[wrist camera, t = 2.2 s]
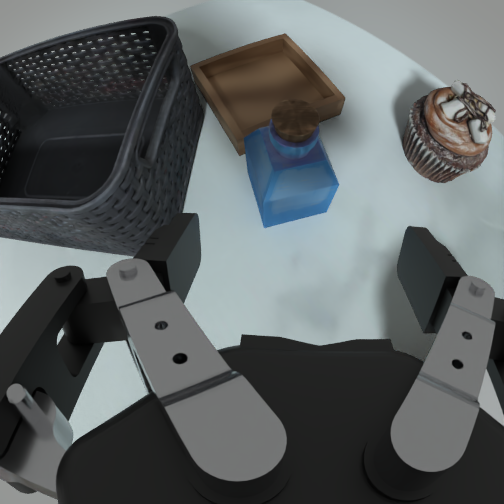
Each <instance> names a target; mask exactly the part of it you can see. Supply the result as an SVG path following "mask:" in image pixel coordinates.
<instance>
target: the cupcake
mask: <svg viewBox="0 0 504 504" xmlns="http://www.w3.org/2000/svg"><path fill="white" fill-rule="evenodd" d="M495 111H496V110H495V109H494V108H493V107H492V105H491V104H490V103H488V102H487V101H486V100H485V99H483V98H482V97H481V96H479V95H477V94H475V93H474V92H472V90H471V89H470V87H469V86H468V85H467V84H466V83H462V82H460V81H459V80H457V81H455V82H454V83H453V84H452V86H451V87H444V88H439V89H436V90H433V91H431V92H430V93H429V95H426V96H423V97H422V98H421V99H419V100H417V102H415V103H414V105H412V107H411V109H410V114H409V118H408V123H407V126H406V130H405V133H404V137H403V149H404V153H405V156H406V158H407V160H408V162H409V163H410V164H411V165H412V166H413V168H414V169H415V170H416V171H417V172H418V173H419V174H420V175H421V176H423V177H425V178H428V179H429V180H431V181H434V182H437V183H439V182H441V183H446V182H448V181H452V180H453V179H455V178H456V177H458V176H460V175H462V174H464V173H467V172H471V171H473V170H474V169H477V168H478V167H480V166H481V165H480V164H481V163H482V162H483V161H484V159H485V158H486V156H487V154H488V145H489V143H490V141H491V137H492V126H491V123H492V122H493V121H495V118H496V116H495V114H494V113H495Z"/></svg>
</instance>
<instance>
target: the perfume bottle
mask: <svg viewBox="0 0 504 504" xmlns="http://www.w3.org/2000/svg"><path fill="white" fill-rule="evenodd" d="M271 117H272V119H271V120H270V124H269V126H266V127H262V128H259V129H257V130H255V131H254V132H252V133H250V134H249V135H247V136H246V137H244V145H245V153H246V161H247V170H248V174H249V178H250V181H251V184H252V188H253V191H254V195H255V198H256V201H257V205H258V208H259V212H260V215H261V219H262V222H263V226H264V228H266V227H270V226H274V225H278V224H282V223H285V222H289V221H293V220H297V219H301V218H305V217H309V216H313V215H317V214H321V213H325V212H327V210H328V207H329V205H330V203H331V201H332V199H333V197H334V195H335V193H336V190H337V188H338V186H339V183H338V180H337V178H336V175H335V173H334V170H333V168H332V165H331V163H330V160H329V158H328V156H327V153H326V151H325V148H324V146H323V144H322V141H321V139H320V137H319V126H318V124H319V119H320V118H319V114H318V112H317V110H316V109H315V107H313V106H312V105H311V104H310V103H308V102H305V101H303V100H298V99H288V100H284V101H281V102H280V103H278V104H277V105H276V106H275V107H274V109H273V110H272V114H271Z"/></svg>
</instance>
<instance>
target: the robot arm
mask: <svg viewBox="0 0 504 504" xmlns="http://www.w3.org/2000/svg"><path fill="white" fill-rule="evenodd" d="M200 261H201V243H200V229H199V218H198V214H197V213H177V214H176V216H175V217H174V218H173V220H172V221H171V222H170V224H169V225H163V226H161V227H159V228H158V229H156V230H154V232H153V233H152V234H151V235H150V237H149V239H147V241H146V242H145V244H143V246H142V247H141V248H140V250H139V251H138V252H137V254H136V255H135V256H134V258H133V259H126V260H122V261H119V262H117V263H115V264H113V265H112V266H111V267H110V268H109V269H108V270H107V273H106V276H107V277H101V278H92V279H85V277H84V274H83V270H82V269H81V268H80V267H77V266H65V267H61V268H58V269H56V270H54V271H53V272H51V273H50V274H49V275H48V276H47V277H46V278H45V279H44V280H43V281H42V282H41V284H40V285H39V286H38V287H37V288H36V290H35V291H34V292H33V293H32V294H31V296H30V297H29V298H28V299H27V301H26V302H25V303H24V304H23V306H22V307H21V308H20V309H19V311H18V312H17V313H16V314H15V316H14V317H13V318H12V320H11V321H10V322H9V324H8V325H7V326H6V328H5V329H4V330H3V332H2V333H1V334H0V479H1V480H3V481H6V482H7V483H8V484H10V485H11V486H12V487H14V488H15V489H17V490H18V491H20V492H22V493H27V494H29V493H34V492H37V491H38V492H40V493H42V494H45V495H47V496H49V497H52V498H54V499H57V500H58V504H504V426H503V425H502V424H500V423H499V422H498V421H497V420H496V419H494V418H493V417H492V416H491V415H489V414H488V413H487V412H486V411H485V410H483V409H482V408H481V407H480V403H479V402H478V397H479V394H480V390H481V386H482V383H483V379H484V375H485V371H486V369H487V372H488V374H489V377H490V379H491V382H492V384H493V387H494V390H495V392H496V395H497V398H498V401H499V403H500V406H501V409H502V412H503V415H504V299H500V298H496V297H495V292H494V290H493V288H492V287H491V286H490V285H489V284H488V283H487V282H485V281H483V280H482V279H480V278H477V277H473V276H468V275H467V274H466V273H465V271H464V270H463V269H462V267H461V266H460V265H459V263H458V262H456V259H455V258H454V257H453V256H452V254H451V253H450V252H449V250H448V249H447V248H446V247H445V246H444V245H442V244H441V243H439V242H438V241H437V240H436V239H435V238H434V237H433V235H432V234H431V233H430V232H429V230H428V229H427V228H423V227H412V226H409V227H407V229H406V231H405V235H404V239H403V243H402V247H401V252H400V256H399V260H398V264H397V273H398V277H399V280H400V282H401V284H402V286H403V288H404V290H405V292H406V295H407V297H408V299H409V301H410V303H411V306H412V308H413V310H414V312H415V315H416V317H417V319H418V322H419V324H420V326H421V329H422V331H423V333H437V336H436V338H435V340H434V342H433V344H432V346H431V348H430V351H429V353H428V355H427V357H426V359H425V361H424V362H423V361H421V360H419V359H417V358H415V357H413V356H411V355H409V354H406V353H403V352H400V351H395V350H393V346H392V343H391V340H390V339H356V340H350V341H345V342H340V343H334V344H328V345H322V346H318V345H313V344H308V343H304V342H299V341H295V340H291V339H287V338H282V337H273V336H257V335H243V334H242V336H241V342H240V345H238V346H232V347H227V348H223V349H220V350H216V349H215V347H214V346H213V345H212V343H211V342H210V341H209V339H208V338H207V336H206V335H205V334H204V332H203V331H202V329H201V328H200V327H199V325H198V324H197V322H196V321H195V320H194V318H193V317H192V315H191V314H190V312H189V311H188V310H187V308H186V307H185V305H184V302H185V299H186V297H187V294H188V292H189V290H190V287H191V285H192V282H193V280H194V278H195V275H196V273H197V271H198V268H199V266H200ZM61 328H63V331H64V335H63V337H62V338H61V340H60V342H59V343H58V345H57V336H58V333H59V332H60V330H61ZM123 340H125V341H126V344H127V346H128V349H129V351H130V354H131V356H132V358H133V361H134V363H135V366H136V368H137V370H138V373H139V375H140V377H141V380H142V382H143V384H144V387H145V389H146V392H147V395H146V396H144V397H143V398H141V399H140V400H138V401H137V402H135V403H134V404H132V405H131V406H129V407H128V408H126V409H125V410H123V411H121V412H120V413H118V414H117V415H115V416H114V417H112V418H111V419H109V420H107V421H106V422H104V423H103V424H101V425H99V426H98V427H96V428H95V429H93V430H91V431H90V432H88V433H86V434H85V435H83V436H82V437H80V438H79V439H77V440H76V441H75V442H74V443H73V444H72V441H73V430H72V427H71V425H70V423H69V422H68V421H69V419H70V417H71V414H72V412H73V409H74V407H75V405H76V403H77V400H78V398H79V396H80V393H81V391H82V389H83V387H84V384H85V382H86V380H87V378H88V376H89V374H90V371H91V369H92V367H93V365H94V363H95V361H96V359H97V357H98V354H99V352H100V350H101V348H102V346H103V344H104V342H113V341H123Z"/></svg>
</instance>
